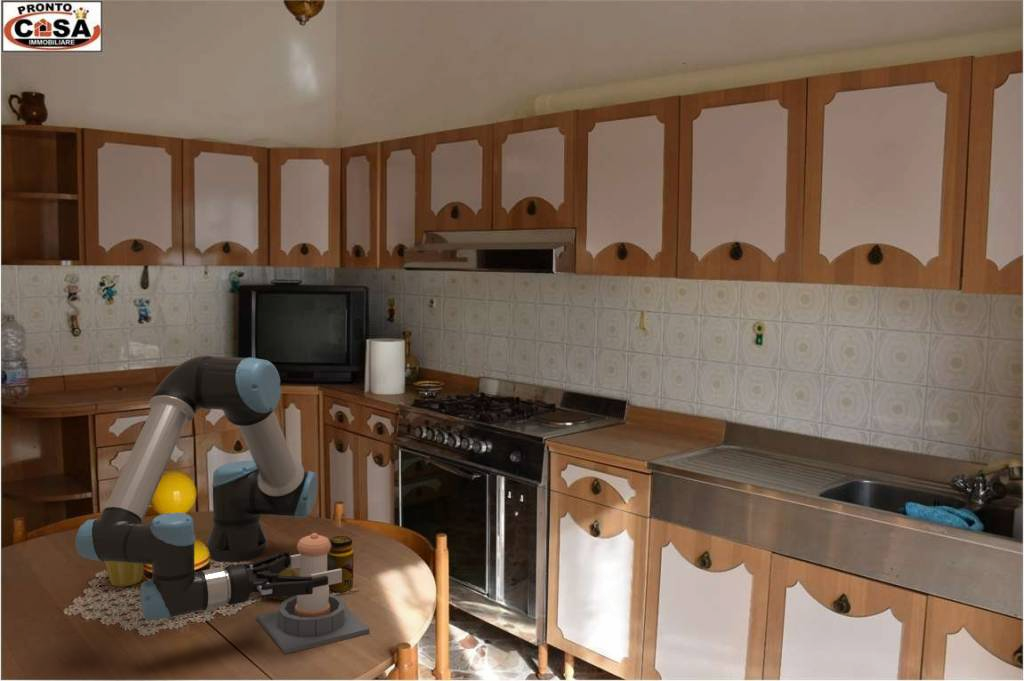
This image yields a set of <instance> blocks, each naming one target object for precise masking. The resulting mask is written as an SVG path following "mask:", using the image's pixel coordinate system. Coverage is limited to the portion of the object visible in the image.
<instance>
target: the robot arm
mask: <svg viewBox="0 0 1024 681" xmlns="http://www.w3.org/2000/svg"><path fill="white" fill-rule="evenodd" d="M281 394H282V386H281V377H280V374H279V372H278V370H277V368H276V366H275V365H274V364H273V363H272V362H271V361H269V360H266V359H261V358H257V357H234V356H233V357H232V356H231V357H229V356H211V355H200V356H195V357H192V358H190V359H188V360H185V361H184V362H182V363H180V364H179V365H177V366H176V367H175V368H174V369H172V370H171V371H170V372H168V374H167V375H166V376H165V377H164V378H163V379H162V381H160V383H159V385H158V386H157V387H156V389H155V390H154V392H153V394H152V396H151V399H150V400H149V403H148V405H149V408H150V411H149V414H148V416H147V417H146V420H145V423H144V424H143V427H142V429H141V430H140V433H139V435H138V437H137V439H136V441H135V443H134V446H133V447H132V450H131V452H130V454H129V456H128V458H127V460H126V462H125V465H124V467H123V469H122V471H121V473H120V474H119V476H118V479H117V482H116V483H115V486H114V488H113V490H112V491H111V494H110V496H109V498H108V501H107V502H106V505H105V506H104V508H103V510H102V512H101V514H100V517H99V518H94V519H87V520H86V521H84V522H83V524H81V525H80V526H79V528H78V529H77V532H76V536H75V549H76V552H77V553H78V554H79V556H80V557H82V558H83V559H88V560H93V561H100V562H104V561H117V562H129V563H139V564H144V565H151V568H152V569H151V570H152V576H151V579H148V580H145V581H143V582H142V583H141V584H140V586H139V589H140V590H139V603H140V610H141V613H142V617H143V618H144V619H146V620H147V621H156V620H164V619H172V618H175V617H178V616H179V617H180V616H183V615H184V616H185V615H188V614H193V613H199V612H203V611H206V610H207V611H213V610H214V609H217V608H222V607H225V606H226V605H230V606H233V605H236V604H242V603H246V602H248V601H249V598H250V595H252V594H253V593H259V594H261V595H260V596H261V597H260V598H261V599H269V598H272V597H277V596H293V595H308V594H312V593H313V588H317V587H322V586H326V585H331V584H336V583H341V582H342V569H336V570H331V571H325V572H320V573H315V574H310V577H300V576H280V575H279V574H278V573H279V572H281V571H283V570H285V569H287V568H288V567H290V568H291V569H293V570H294V569H298V568H299V569H300V556H301V554H299V553H298V554H293V555H290V552H289V551H284V552H279V553H276V554H273V555H270V556H267V557H264V558H261V559H258V560H255V561H253V562H247V563H238V564H234V565H233V564H232V565H227V566H225V567H224V568H223V567H215V568H209V569H205V570H200V571H195V542H196V535H195V526H194V519H193V517H192V516H191V515H189V514H187V513H184V512H172V513H171V512H169V513H162V514H160V515H157V516H155V517H154V518H153V519H152V521H151V523H145V522H143V520H144V518H145V515H146V514H147V511H148V509H149V506H150V505H151V502H152V500H153V498H154V495H155V493H156V491H157V489H158V486H159V484H160V482H161V479H162V478H163V475H164V473H165V471H166V468H167V466H168V464H169V461H170V460H171V458H172V455H173V454H174V451H175V448H176V446H177V444H178V442H179V440H180V437H181V435H182V433H183V430H184V428H185V426H186V423H188V422H192V421H193V420H194V418H195V415H196V414H197V411H200V410H201V409H206V410H221V411H222V412H223V414H224V416H225V418H226V419H227V421H228V422H229V423H230V424H232V425H234V426H237V427H238V429H239V431H240V434H241V435H242V437H243V440H244V442H245V445H246V447H247V449H248V452H249V454H250V455H251V457H252V460H241V461H235V462H230V463H225V464H223V465H221V466H219V467H217V468H216V469H215V470H214V471H213V474H212V485H211V487H212V517H213V518H212V526H211V529H210V532H209V534H208V538H207V541H206V545H205V547H206V546H207V547H208V549H209V552H210V555H211V558H210V559H211V560H215V561H219V562H239V561H246V560H247V561H248V560H252V559H255V558H258V557H261V556H262V555H263V554H265V553H266V552H267V551H268V539H267V536H266V533H265V530H264V528H263V526H262V522H261V516H275V517H276V516H277V517H285V518H286V517H287V518H294V519H295V518H306V517H308V516H309V515H310V514H311V512H312V510H313V509H314V505H315V502H316V500H317V493H318V485H319V484H318V483H319V481H318V480H319V479H318V475H317V473H316V472H314V471H311V470H308V471H305V468H304V467H303V464H302V463H301V462H300V460H297V459H296V458H294V457H293V456H292V453H291V450H290V447H289V445H288V443H287V440H286V438H285V435H284V433H283V431H282V428H281V426H280V423H279V421H278V417H277V416H276V413H275V409H276V408H277V406H279V402H280V399H281Z"/></svg>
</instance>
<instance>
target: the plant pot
mask: <svg viewBox="0 0 1024 681" xmlns="http://www.w3.org/2000/svg"><path fill="white" fill-rule="evenodd" d="M103 562H104V564H105V568H106V571H107V575H108V579H109V583H110V584H111V585H112V586H114V587H120V588H123V587H130V586H134V585H136V584H138V583H140V582H141V580H142V578H143V571H144V568H143V564H139V563H129V562H117V561H103Z"/></svg>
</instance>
